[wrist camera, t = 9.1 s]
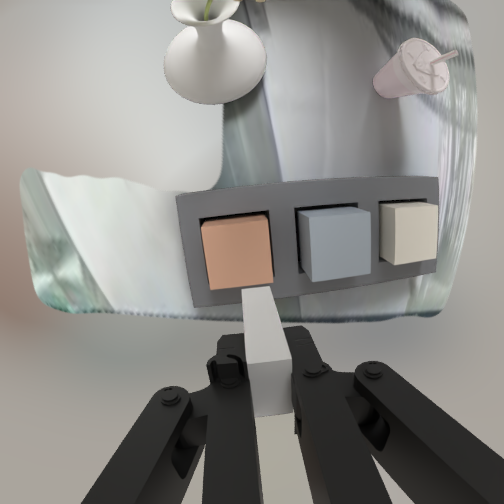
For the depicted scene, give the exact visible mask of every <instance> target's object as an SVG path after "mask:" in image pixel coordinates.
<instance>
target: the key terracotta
mask: <svg viewBox="0 0 504 504" xmlns="http://www.w3.org/2000/svg"><path fill="white" fill-rule="evenodd" d="M201 232H202V239H203V246H204V252H205V259H206V265H207V272H208V278H209V284H210V290H214V289H223V288H232V287H241V286H250V285H258V284H266V283H273V272H272V261H271V250H270V239H269V228H268V220H267V218H266V217H265V216H264V214H263V213H257V214H248V215H239V216H230V217H222V218H214V219H206V221H205V222H204V224H203V225H202V227H201Z"/></svg>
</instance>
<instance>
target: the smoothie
mask: <svg viewBox="0 0 504 504" xmlns="http://www.w3.org/2000/svg"><path fill="white" fill-rule="evenodd" d="M457 55H458V52H457V50H453V51H451V52H449V53H447V54H444V55H441V54H440V53H439V51H438V50H437V49H436V48H435V47H434V46H432V45H431V44H430V43H428V42H426V41H424V40H422V39H418V38H411V39H409V40H407V41H405V42H403V43H402V44H401V45H400V46H399V49H398V52H397V53H396V54H395V55H394V56H393V57H392V58H391V59H390V60H389V61H388V62H387V63H386V64H385V65H384V66H383V67H382V68H381V70H380V71H379V72H378V73H377V74H376V75H375V76H374V78H373V86H374V88H375V90H376V92H377V93H378V94H379V95H380V96H382V97H384V98H388V99H390V98H396V97H402V96H408V95H415V94H422V93H425V94H429V95H435V94H438V93H440V92H442V91H444V90H445V89H446V88H447V86H448V84H449V71H448V67H447V64H446V62H445V60H447V59H450V58H452V57H454V56H457Z"/></svg>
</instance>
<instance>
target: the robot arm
mask: <svg viewBox="0 0 504 504" xmlns="http://www.w3.org/2000/svg"><path fill="white" fill-rule="evenodd" d="M242 306H243V321H244V333H240V334H230V335H222V337H221V338H220V339H219V340H218V342H217V354H216V355H215V356H213V357H212V358H211V359H210V360H208V362H207V370H208V375H209V379H210V385H209V386H208V387H206V388H205V389H203V390H200V391H197V392H193V393H188V391H187V390H185V389H184V388H181V387H178V386H170V387H166V388H163V389H161V390H159V391H157V392H156V393H155V394H154V395H153V397H152V398H151V400H150V401H149V403H148V404H147V406H146V407H145V409H144V410H143V412H142V413H141V414H140V416H139V417H138V419H137V420H136V422H135V423H134V425H133V426H132V428H131V430H130V431H129V432H128V434H127V435H126V437H125V438H124V440H123V441H122V443H121V445H120V446H119V447H118V449H117V450H116V452H115V453H114V455H113V456H112V458H111V459H110V461H109V462H108V464H107V465H106V467H105V468H104V470H103V471H102V473H101V474H100V476H99V477H98V479H97V480H96V482H95V483H94V485H93V486H92V488H91V489H90V491H89V492H88V494H87V495H86V497H85V498H84V500H83V501H82V503H81V504H181V502H182V500H183V498H184V495H185V493H186V491H187V488H188V486H189V483H190V481H191V479H192V476H193V474H194V471H195V469H196V467H197V464H198V462H199V459H200V457H201V454H202V452H203V449H204V446H205V444H206V446H205V461H204V477H203V494H202V504H264V503H263V493H262V484H261V475H260V465H259V455H258V445H257V435H256V426H255V419H254V417H264V416H272V415H280V414H287V413H292V412H293V409H294V413H295V434H297V435H298V439H299V443H300V448H301V452H302V456H303V460H304V465H305V469H306V473H307V477H308V482H309V486H310V490H311V494H312V499H313V503H314V504H392V502H391V499H390V497H389V495H388V492H387V490H386V488H385V485H384V483H383V481H382V478H381V476H380V474H379V472H378V469H377V467H376V465H375V462H374V460H373V458H372V456H373V457H374V458H375V459H376V460H377V461H378V463H379V464H380V465H381V466H382V467H383V468H384V469H385V471H386V472H387V473H388V474H389V475H390V476H391V478H392V479H393V480H394V481H395V482H396V483H397V484H398V486H399V487H400V488H401V489H402V490H403V491H404V492H405V493H406V494H407V496H408V497H409V498H410V499H411V500H412V501H413V502H414V503H415V504H504V459H503V458H502V457H501V456H499V455H498V454H497V453H495V452H494V451H493V450H492V449H490V448H489V447H488V446H487V445H486V444H484V443H483V442H482V441H481V440H479V439H478V438H477V437H476V436H474V435H473V434H472V433H471V432H469V431H468V430H467V429H466V428H464V427H463V426H462V425H461V424H459V423H458V422H457V421H456V420H455V419H453V418H452V417H451V416H450V415H448V414H447V413H446V412H444V411H443V410H442V409H441V408H440V407H438V406H437V405H436V404H435V403H433V402H432V401H431V400H430V399H428V398H427V397H426V396H425V395H423V394H422V393H421V392H420V391H419V390H417V389H416V388H415V387H414V386H412V385H411V384H410V383H409V382H407V381H406V380H405V379H404V378H403V377H401V376H400V375H399V374H397V373H396V372H395V371H394V370H393V369H391V368H390V367H389V366H388V365H386V364H384V363H382V362H378V361H368V362H364V363H362V364H360V365H358V366H357V368H356V369H355V373H353V372H352V373H351V372H349V373H348V372H336V371H333V370H332V368H331V367H330V366H329V365H328V364H326V363H324V362H323V361H322V359H321V357H320V355H319V353H318V350H317V348H316V346H315V344H314V341H313V339H312V337H311V335H310V333H309V331H308V330H307V329H306V328H304V327H303V326H294V327H287V328H282V325H281V321H280V318H279V315H278V311H277V308H276V305H275V302H274V298H273V295H272V292H271V289H270V286H266V287H257V288H247V289H242ZM371 454H372V456H371Z"/></svg>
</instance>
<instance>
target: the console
mask: <svg viewBox="0 0 504 504" xmlns="http://www.w3.org/2000/svg"><path fill="white" fill-rule="evenodd" d="M400 199H410V201H419V202H424V203H429V204H433V205H438V232H439V183H438V177H429V176H377V177H351V178H331V179H315V180H302V181H289V182H278V183H267V184H257V185H247V186H238V187H230V188H221V189H213V190H206V191H198V192H191V193H184V194H180V195H178V196H176V203H177V211H178V218H179V224H180V231H181V237H182V244H183V250H184V256H185V262H186V267H187V273H188V279H189V284H190V289H191V295H192V300H193V305H194V308H197V307H208V306H217V305H227V304H236V303H242V289H247V288H257V287H266V286H270V289H271V292H272V295H273V298H274V299H277V298H285V297H292V296H300V295H307V294H314V293H321V292H327V291H334V290H340V289H346V288H352V287H358V286H364V285H370V284H376V283H382V282H387V281H393V280H398V279H403V278H409V277H414V276H419V275H424V274H429V273H434V272H436V264H437V254H436V258H434V259H429V260H423V261H417V262H411V263H405V264H399V265H393V264H392V263H390V262H388V261H387V260H385V259H383V258H382V257H380V256H379V205H378V201H383V200H400ZM341 203H345V207H346V206H352V207H355V208H358V209H362V210H365V211H368V212H370V214H371V274H365V275H358V276H352V277H345V278H339V279H332V280H325V281H318V282H312V281H311V280H310V278H309V277H308V275H307V274H306V273H305V271H304V270H303V268H302V267H301V262H298V257H297V242H296V228H295V215H294V208H295V207H306V206H317V205H328V204H341ZM256 211H266V218H267V220H268V228H269V239H270V250H271V261H272V272H273V283H266V284H258V285H250V286H241V287H232V288H223V289H214V290H210V284H209V278H208V272H207V265H206V259H205V252H204V246H203V239H202V232H201V227H202V225H203V224H204V218H205V217H213V216H221V215H230V214H238V213H247V212H256ZM437 251H438V236H437Z"/></svg>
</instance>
